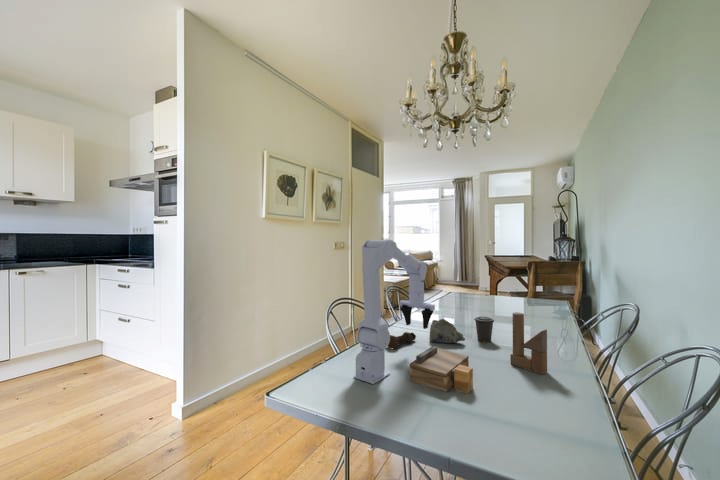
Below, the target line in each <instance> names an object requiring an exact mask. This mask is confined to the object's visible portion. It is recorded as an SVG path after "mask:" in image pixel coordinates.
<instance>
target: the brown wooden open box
mask: <svg viewBox="0 0 720 480" xmlns="http://www.w3.org/2000/svg"><path fill="white" fill-rule="evenodd" d="M469 361H470V360H469V359H467V360H466V361H465V362H464V363H463V364H462V365H463V366H467V367H470V365H469V363H470V362H469ZM409 381H410V382H412V383H413V382H414V383H416V384H420V385H423V386H426V387H430V388H433V389H435V390H439V391H442V392H445V393H447V392H448V391H449V390H450V389H451V388H452V387H454V381H453V380H452V373H451V374H450V375H448V376H447V377H443V376H440V375H436V374H433V373H429V372H426V371H422V370H419V369H415V368H412V367H410V366H409Z"/></svg>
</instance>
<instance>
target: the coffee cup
mask: <svg viewBox="0 0 720 480" xmlns="http://www.w3.org/2000/svg"><path fill="white" fill-rule="evenodd" d="M474 321H475V329H476V337H477V341H478V342H480V343H491V342H492V336H493V335H492V334H493V329H494V327H493V325H494V322H495V320H494V319H493V318H491V317H488V316H478V317H475V318H474Z"/></svg>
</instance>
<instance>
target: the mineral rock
mask: <svg viewBox="0 0 720 480" xmlns="http://www.w3.org/2000/svg"><path fill="white" fill-rule="evenodd" d="M428 338H429V342H432V343H433V342H434V343H445V344H447V343H448V344H452V343H457V342H458V343H459V342H465V340H466V338H465V337H464V334H463V333H461V332H459V331H458V330H457V327H455V325H454V324H452V323H451V322H450V321H448V320H446V319H445V318H440V319H438V320H437V319H436V320H435V319H433V320H432V322H431V325H430V329H429V337H428Z"/></svg>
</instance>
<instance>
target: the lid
mask: <svg viewBox="0 0 720 480" xmlns="http://www.w3.org/2000/svg"><path fill="white" fill-rule="evenodd" d="M469 358H470V357H469V355H468V354H464V353H459V352H454V351H450V350H446V349H445V350H444V349H441V348H438V347H437V346H436V345H435V346H434V345H432V346H431V347H429V348H428V349H426V350H425V351H422V352H420V353H419V354H418V355H417V354H416V356H415V360H412V362H410V363H409V368H410V367H412V368H415V369H419V370H422V371H426V372H429V373H433V374H436V375H440V376H443V377H447V376H448V375H450V374H451V373H452V380H453V381H454V369H455V368H456V367H457V366H458V365H462V364H463V363H464V362H465V361H466V360H467V359H469Z"/></svg>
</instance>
